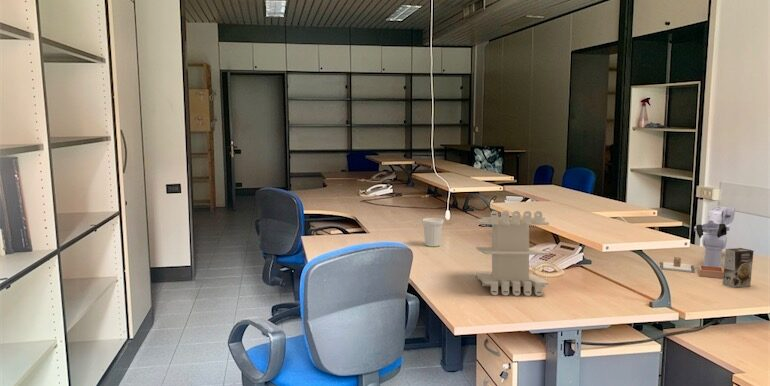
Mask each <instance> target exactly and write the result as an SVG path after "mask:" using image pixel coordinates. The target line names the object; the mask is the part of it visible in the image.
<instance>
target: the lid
mask: <svg viewBox="0 0 770 386" xmlns="http://www.w3.org/2000/svg"><path fill="white" fill-rule="evenodd" d="M681 260H682V257H676V256H674V257H673V262H670V261H669V262H668V261H663V262H662V263H663V269H668V270H667V271H670V270H678V271H677V272H679V271H687V272H686V273H688V272H691V266H692V265H691V264H690V263H689V264H688V263H681V262H682V261H681Z"/></svg>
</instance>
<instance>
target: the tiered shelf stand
mask: <svg viewBox="0 0 770 386" xmlns="http://www.w3.org/2000/svg"><path fill="white" fill-rule="evenodd" d="M500 214H501V216H499V212H498V211H497V210H492V211H491V212H490V216H486V217H485V216H482V217H481V218H477V220H476V224H480V225H491V247H490V246H488V247H487V246H476V247H475V248H476V249H475V250H477V251H478V252H481V253H482V254H484V255H491V273H475V277H476V278H477V280H479V281H481V287H490V293H491V295H493V296H497V295H498V294H499V287H500V290H501V291H500V292H501V295H503V296H509V294H510V287H512V289H511V291H512V295H514V296H516V297H517V296H520V295H521V287H522V290H523V292H522V293H523V294H524V295H525V296H526V297H530V296H531V295H532V288H533V289H534V291H533V293H534V295H536V296H537V297H541V296H542V295H543V288H545V287H546V286H549V285H550V282H549V281H548V280H545V279H543V278H542V277H540V276H538V275H535V274H532V273H530V255H532V256H533V255H534V256H535V255H536V256H538V255H539V256H543V255H544V256H547V255H548V256H549V255H550V252H548V251H545V250H542V249H538V248H534V247H530V226H531V225H534V226H535V225H536V226H542V225H543V226H549V225H550V222H546V221H545V219H546V218H545V217H543V213H542V212H541V211H540V210H539V211H538V210H537V211H535V212H534V215H533V217H532V212H531V211H530V210H526V211H525V210H524V212H523V214H522V217H521V212H520V211H519V210H514V211H513V212H512V213H511V215H512V216H510V212H509V211H508V210H502V211H501V213H500Z"/></svg>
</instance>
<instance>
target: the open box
mask: <svg viewBox="0 0 770 386" xmlns="http://www.w3.org/2000/svg"><path fill="white" fill-rule="evenodd" d="M697 268H698V270H697V272H698V276H699V278H700V277H702V278H710V279H717V280H718V279H719V280H723V274H724V266H722V267H715V266H705V265H703V264H698V267H697Z"/></svg>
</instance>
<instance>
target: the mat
mask: <svg viewBox="0 0 770 386" xmlns="http://www.w3.org/2000/svg"><path fill="white" fill-rule="evenodd" d="M660 268H661V270H660V271H671V272H678V273H679V272H681V273H688V274H696V271H695V267H694V265H691V272H687V271H678V270H668V269H663V262H661V261H660V262H659V269H660Z"/></svg>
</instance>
